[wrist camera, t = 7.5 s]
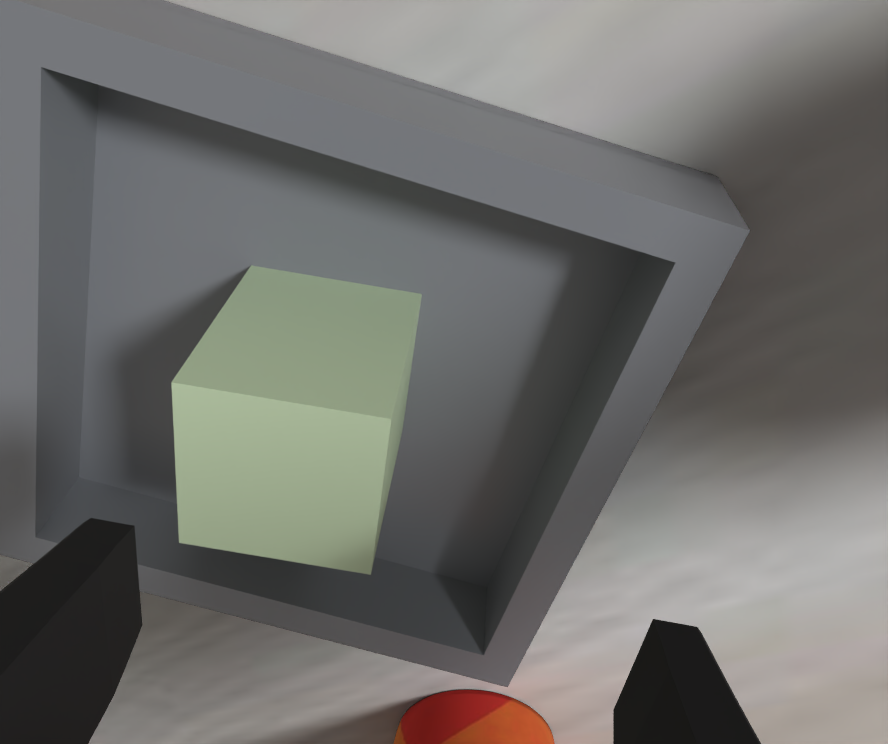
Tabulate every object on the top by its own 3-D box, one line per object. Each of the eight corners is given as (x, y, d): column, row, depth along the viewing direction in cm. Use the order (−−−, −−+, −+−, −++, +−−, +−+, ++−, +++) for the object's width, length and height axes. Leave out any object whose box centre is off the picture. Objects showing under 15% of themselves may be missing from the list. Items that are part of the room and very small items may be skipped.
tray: (717, 176, 17) (750, 230, 15) (509, 603, 25) (507, 686, 22) (67, -31, 16) (-17, -10, 14) (53, 479, 24) (-4, 553, 21)
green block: (421, 294, 19) (391, 419, 15) (402, 431, 21) (370, 574, 17) (251, 265, 19) (171, 382, 15) (249, 405, 21) (179, 542, 17)
